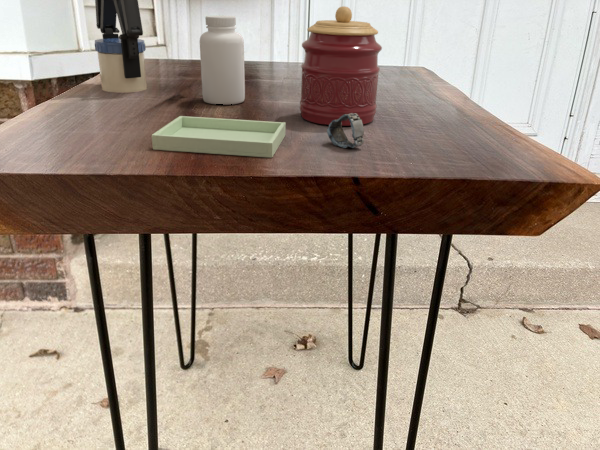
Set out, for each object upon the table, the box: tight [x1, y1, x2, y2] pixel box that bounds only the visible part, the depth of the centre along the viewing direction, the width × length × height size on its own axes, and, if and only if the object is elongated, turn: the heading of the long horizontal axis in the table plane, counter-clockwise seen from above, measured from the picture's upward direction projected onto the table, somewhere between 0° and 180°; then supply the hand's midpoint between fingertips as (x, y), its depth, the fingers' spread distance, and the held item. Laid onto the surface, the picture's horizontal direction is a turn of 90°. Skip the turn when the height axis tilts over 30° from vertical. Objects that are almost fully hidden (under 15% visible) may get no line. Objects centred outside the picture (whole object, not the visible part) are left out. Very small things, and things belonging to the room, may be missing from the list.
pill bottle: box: [199, 14, 246, 106], centre depth 96 cm, size 8×8×15 cm
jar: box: [97, 51, 148, 94], centre depth 97 cm, size 8×8×10 cm
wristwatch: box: [326, 113, 365, 149], centre depth 73 cm, size 3×5×5 cm
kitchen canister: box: [299, 5, 383, 127], centre depth 86 cm, size 13×13×18 cm
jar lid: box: [94, 38, 146, 53], centre depth 95 cm, size 9×9×2 cm
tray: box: [151, 115, 287, 159], centre depth 74 cm, size 16×11×2 cm
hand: (123, 73), depth 97 cm, fingers closed on jar lid, 8 cm apart
